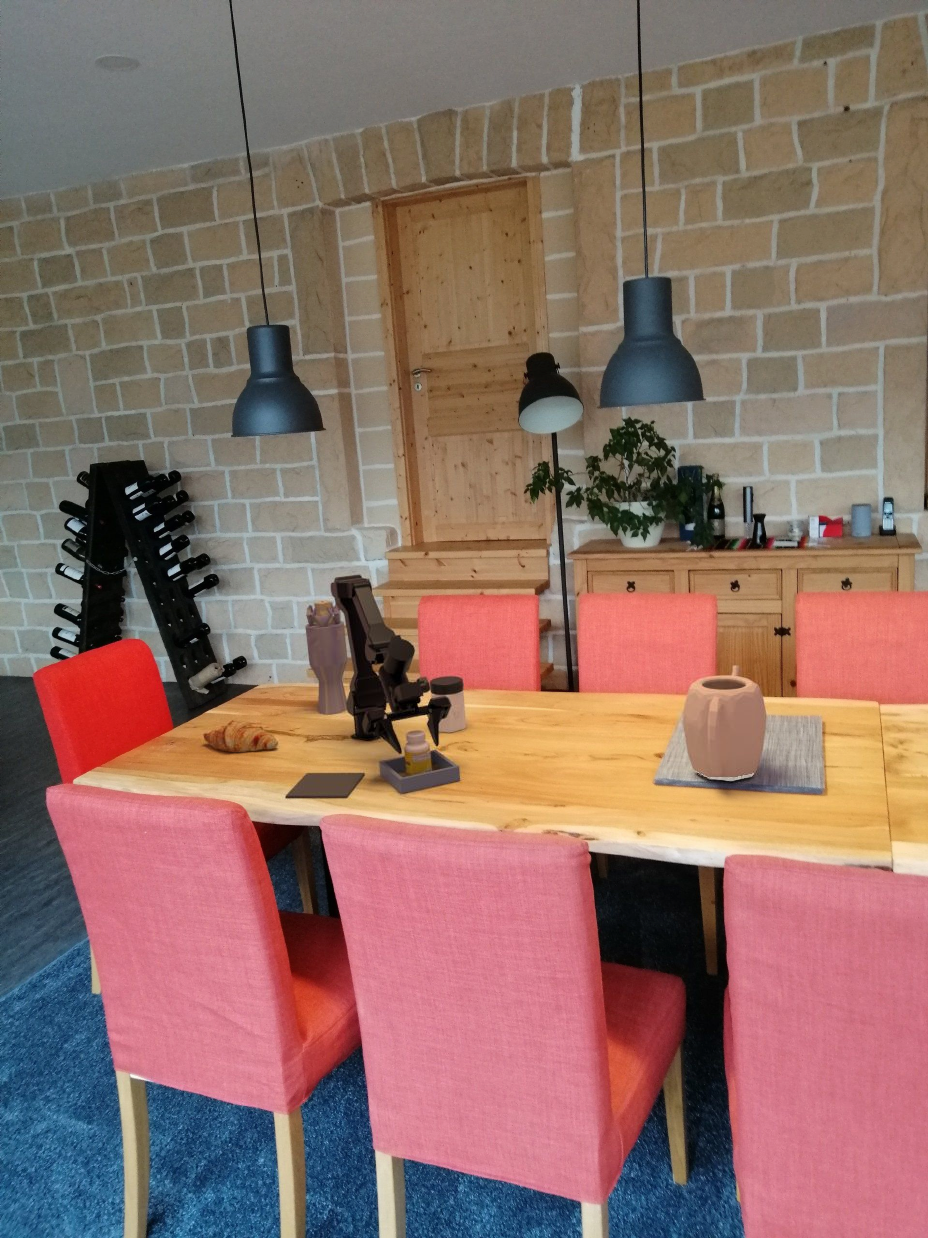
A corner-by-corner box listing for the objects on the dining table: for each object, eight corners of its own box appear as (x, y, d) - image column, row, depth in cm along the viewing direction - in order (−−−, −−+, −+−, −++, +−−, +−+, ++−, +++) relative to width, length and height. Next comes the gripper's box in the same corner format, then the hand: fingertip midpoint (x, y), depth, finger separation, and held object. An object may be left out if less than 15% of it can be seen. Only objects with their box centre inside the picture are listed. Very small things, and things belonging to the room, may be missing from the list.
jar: (443, 735, 223) (439, 687, 220) (425, 728, 229) (421, 681, 227) (474, 727, 227) (470, 679, 225) (456, 720, 234) (452, 674, 232)
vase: (350, 713, 247) (339, 601, 242) (311, 716, 247) (299, 604, 241) (354, 702, 257) (343, 595, 252) (316, 705, 257) (305, 598, 252)
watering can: (776, 752, 195) (775, 665, 192) (756, 799, 172) (755, 701, 168) (701, 746, 202) (699, 662, 199) (672, 791, 179) (669, 696, 175)
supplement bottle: (406, 774, 198) (402, 730, 196) (431, 772, 198) (428, 728, 197) (407, 783, 193) (403, 738, 191) (433, 781, 193) (429, 735, 191)
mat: (307, 775, 202) (306, 773, 202) (364, 774, 200) (364, 772, 200) (285, 798, 189) (285, 795, 189) (346, 798, 187) (346, 795, 187)
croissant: (286, 760, 224) (291, 727, 226) (263, 753, 215) (270, 719, 217) (212, 753, 232) (219, 721, 234) (188, 747, 223) (194, 714, 225)
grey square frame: (380, 774, 199) (379, 761, 198) (436, 762, 204) (435, 749, 203) (401, 793, 187) (400, 779, 187) (460, 780, 192) (459, 766, 192)
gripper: (361, 673, 191) (383, 738, 183) (444, 659, 198) (469, 721, 191) (353, 701, 200) (374, 765, 192) (433, 687, 207) (457, 747, 199)
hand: (419, 749), depth 193 cm, fingers open, 8 cm apart
